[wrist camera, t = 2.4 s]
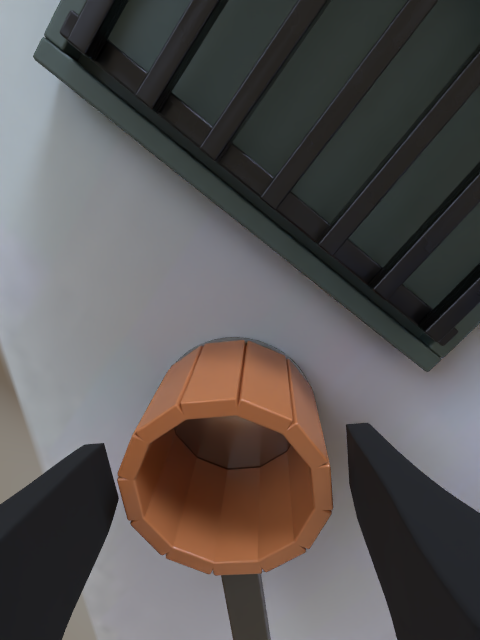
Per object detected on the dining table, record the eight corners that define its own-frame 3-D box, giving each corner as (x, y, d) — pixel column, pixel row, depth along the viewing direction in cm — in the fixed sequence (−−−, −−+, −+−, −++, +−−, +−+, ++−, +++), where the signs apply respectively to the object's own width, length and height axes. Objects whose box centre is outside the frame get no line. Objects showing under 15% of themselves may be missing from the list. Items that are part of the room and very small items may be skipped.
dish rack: (682, 88, 11) (986, 13, 6) (411, 354, 14) (483, 437, 9) (278, -342, 9) (290, -909, 4) (59, 73, 12) (-75, -3, 7)
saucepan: (147, 344, 14) (97, 409, 10) (307, 328, 14) (325, 390, 9) (198, 586, 18) (177, 710, 13) (327, 581, 17) (348, 709, 13)
